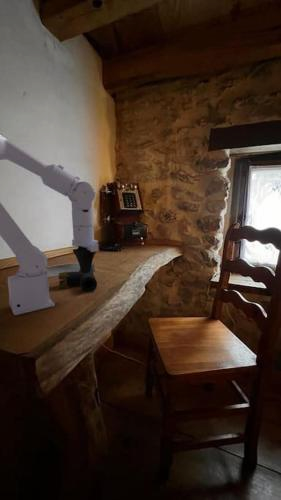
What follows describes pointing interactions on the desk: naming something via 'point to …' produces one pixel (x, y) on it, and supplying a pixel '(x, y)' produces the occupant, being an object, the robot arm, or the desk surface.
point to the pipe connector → (78, 280)
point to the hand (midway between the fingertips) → (85, 272)
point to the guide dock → (64, 268)
